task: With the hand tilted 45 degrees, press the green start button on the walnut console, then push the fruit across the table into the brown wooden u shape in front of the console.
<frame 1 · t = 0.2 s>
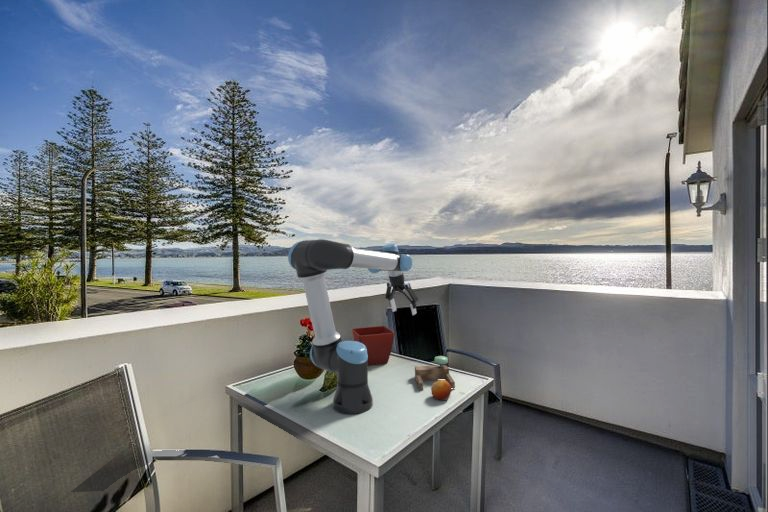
hand: (404, 312, 171), 28 cm above the table, tool tilted 20°, fingers open, 13 cm apart
fruit: (441, 398, 132), on the table
brown wooden u shape: (434, 384, 145), on the table
plant pot: (373, 361, 179), on the table
button: (441, 365, 153), point 6 cm above the table, slide at 0.0 cm
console: (431, 378, 153), on the table
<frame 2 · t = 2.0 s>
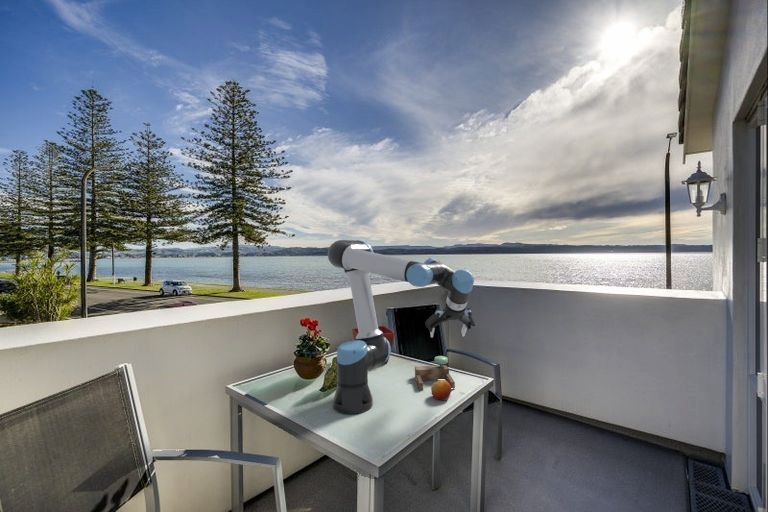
hand: (447, 334, 139), 24 cm above the table, tool tilted 45°, fingers open, 13 cm apart
nothing on the table moved.
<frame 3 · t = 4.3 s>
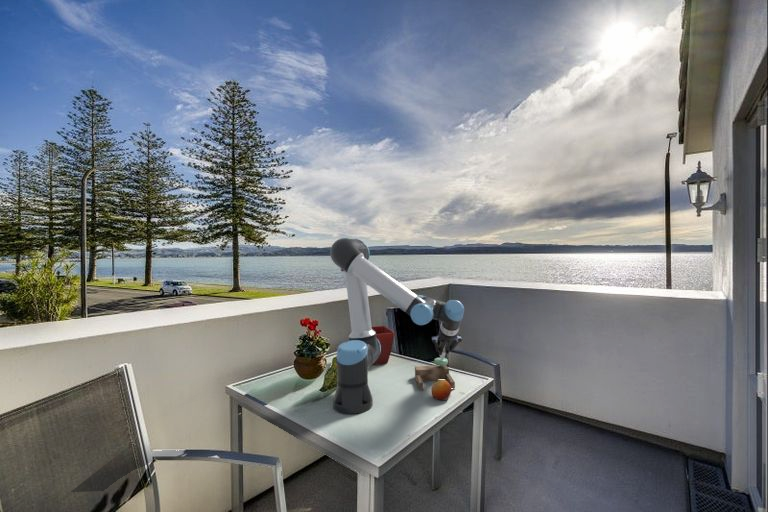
hand: (441, 357, 153), 10 cm above the table, tool tilted 45°, fingers closed
button: (441, 366, 153), point 5 cm above the table, slide at 0.7 cm, touching gripper
everything else where it was.
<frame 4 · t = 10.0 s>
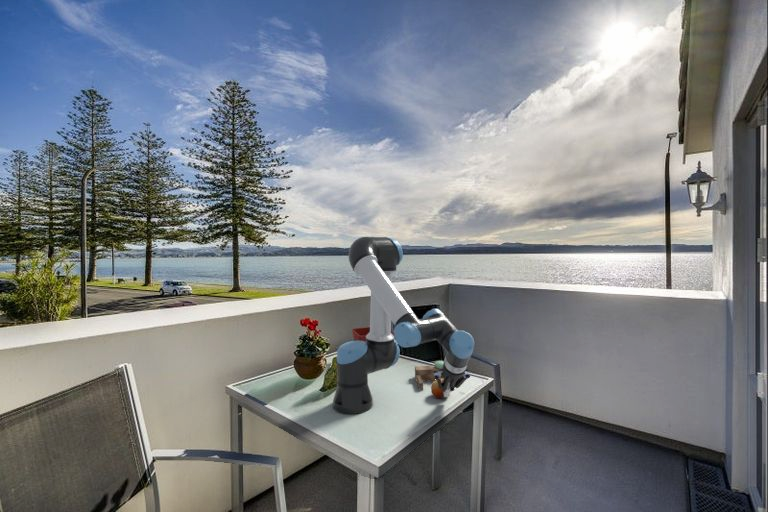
hand: (445, 393, 128), 3 cm above the table, tool tilted 45°, fingers closed
fruit: (440, 396, 133), on the table, touching gripper
button: (441, 370, 153), point 4 cm above the table, slide at 2.3 cm
everything else where it was.
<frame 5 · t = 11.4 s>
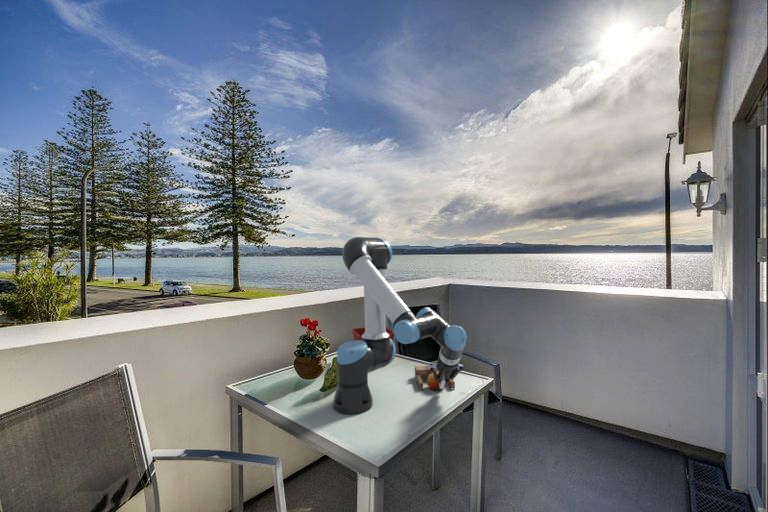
hand: (441, 385, 137), 3 cm above the table, tool tilted 45°, fingers closed
fruit: (436, 388, 142), on the table, touching gripper
everything else where it was.
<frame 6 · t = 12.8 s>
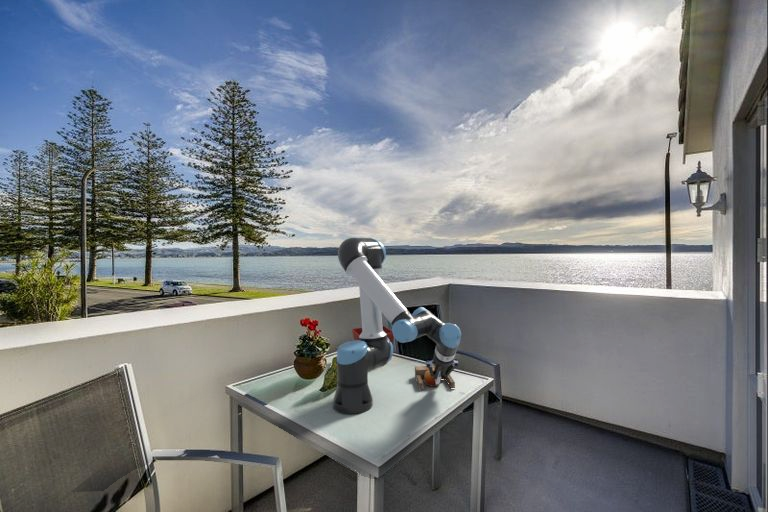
hand: (436, 381, 141), 3 cm above the table, tool tilted 45°, fingers closed
fruit: (432, 384, 146), on the table, touching gripper
everything else where it was.
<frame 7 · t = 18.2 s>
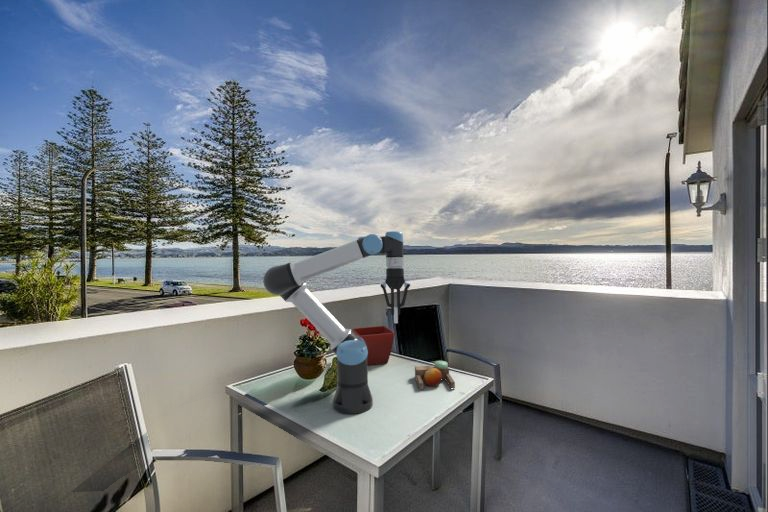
hand: (395, 322, 141), 28 cm above the table, tool pointing down, fingers closed
fruit: (432, 384, 146), on the table
everything else where it was.
at the end: button slide at 2.3 cm; fruit inside the target area (1.0 cm from its centre), on the table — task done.
